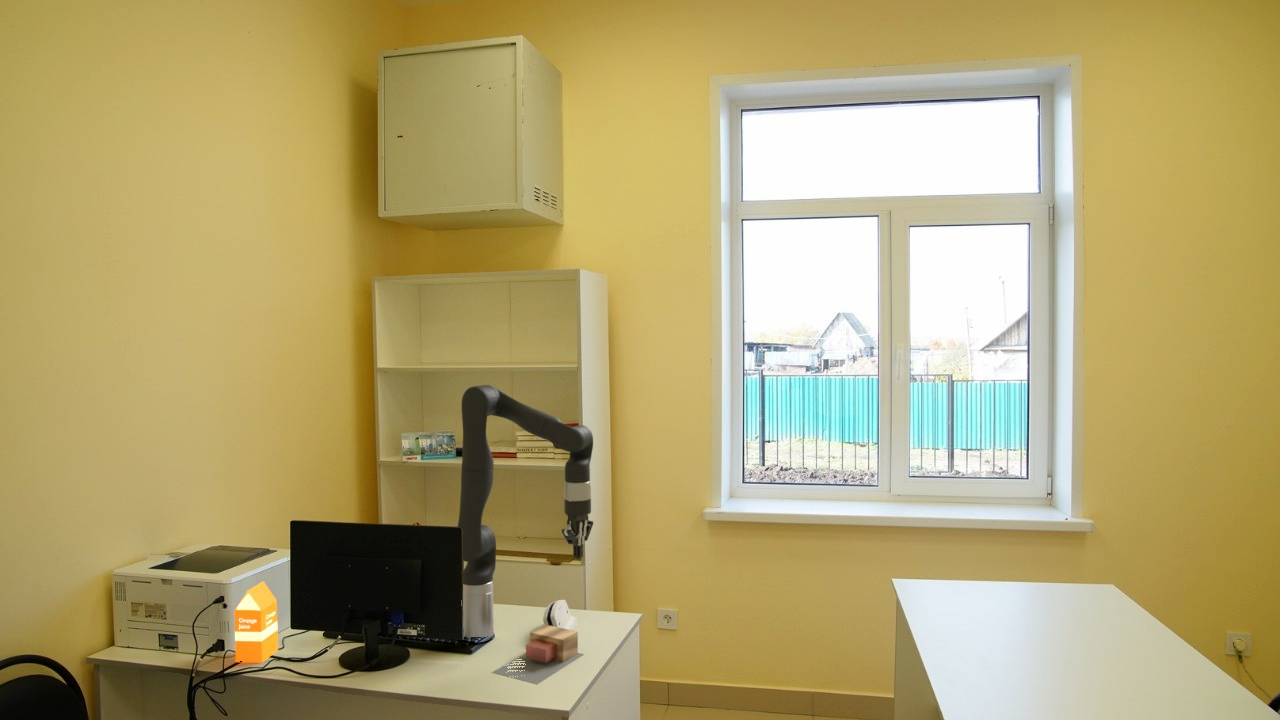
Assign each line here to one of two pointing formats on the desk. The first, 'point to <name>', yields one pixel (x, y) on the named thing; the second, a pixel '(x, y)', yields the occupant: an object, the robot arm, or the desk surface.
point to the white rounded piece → (559, 615)
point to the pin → (541, 650)
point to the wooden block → (558, 640)
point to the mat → (534, 669)
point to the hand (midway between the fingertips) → (578, 557)
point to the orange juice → (256, 625)
